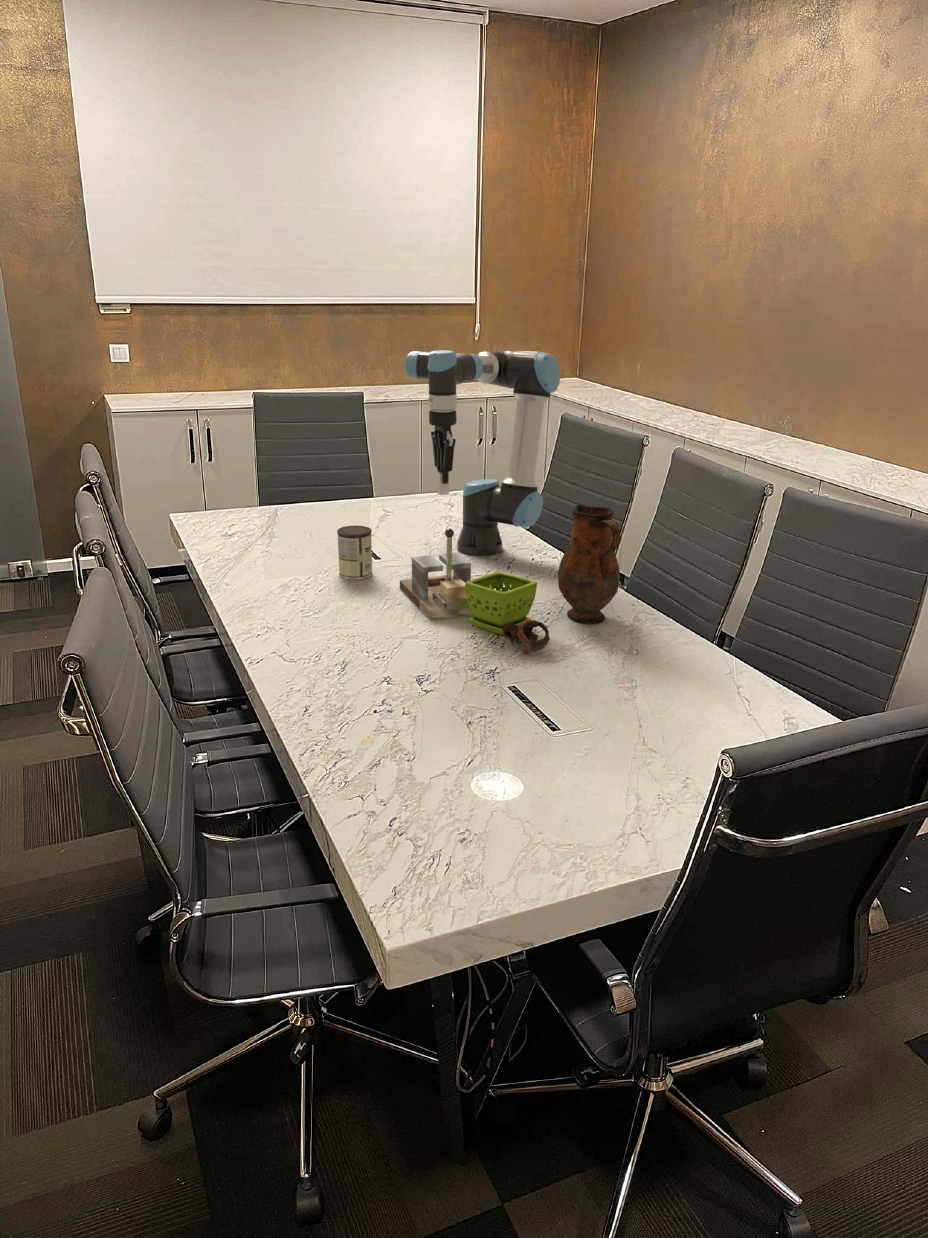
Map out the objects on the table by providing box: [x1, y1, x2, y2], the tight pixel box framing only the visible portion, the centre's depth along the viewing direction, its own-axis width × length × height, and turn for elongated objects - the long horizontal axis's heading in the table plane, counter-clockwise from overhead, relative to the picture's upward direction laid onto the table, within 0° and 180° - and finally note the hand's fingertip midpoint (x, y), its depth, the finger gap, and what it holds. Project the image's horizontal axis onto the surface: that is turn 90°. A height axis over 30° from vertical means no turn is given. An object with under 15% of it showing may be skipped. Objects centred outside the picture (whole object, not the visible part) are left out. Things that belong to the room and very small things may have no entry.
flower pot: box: [465, 571, 538, 636], centre depth 242 cm, size 14×14×13 cm
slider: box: [433, 528, 470, 611], centre depth 249 cm, size 9×10×20 cm
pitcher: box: [557, 504, 621, 625], centre depth 245 cm, size 17×21×30 cm
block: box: [440, 579, 467, 602], centre depth 251 cm, size 6×6×6 cm
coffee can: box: [336, 525, 373, 581], centre depth 280 cm, size 10×10×14 cm
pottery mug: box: [502, 619, 551, 656], centre depth 230 cm, size 12×10×8 cm
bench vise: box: [399, 552, 474, 621], centre depth 260 cm, size 16×27×12 cm, turn 21°
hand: (443, 493), depth 261 cm, fingers closed
